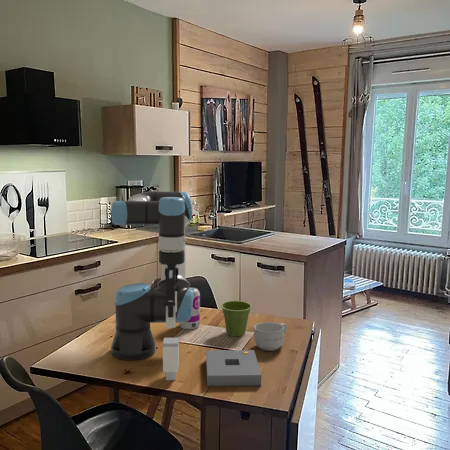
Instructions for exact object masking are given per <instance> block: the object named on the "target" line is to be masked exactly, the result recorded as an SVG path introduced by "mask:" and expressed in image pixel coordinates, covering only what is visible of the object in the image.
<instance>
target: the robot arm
mask: <svg viewBox="0 0 450 450" xmlns="http://www.w3.org/2000/svg"><path fill="white" fill-rule="evenodd" d="M192 205H193V204H192V200H191V196H190V194H189V193H188V192H186V191H179V190H178V191H153V190H151V191H145V192H144V191H143V192H140V193H137V194H134V195H131V196H130V197H129V198H128V199H127V200H115V201H113V202H112V204H111V211H110V212H111V215H110V216H111V222H112V225H115V226H158V249H159V251H158V262H159V264H161V279H160V280H159V281H158V282H157V283H156V284H157V285H156V288H155V287H153V288H151V286H150V284H149V283H145V282H136V283H131V284H128V285H124V286H122V287H120V288H118V289H117V290H116V292H115V302H114V305H115V333H114V336H113V338H112V342H111V346H110V351H111V352H110V355H111V356H112V357H113V358H116V359H118V360H122V361H138V360H139V361H140V360H143V359H146V358H149V357H151V356H152V355H154V353H156V341H155V339H154V336H153V333H152V331H151V323H153V324H154V323H155V324H156V323H159V324H160V323H162V324H163V323H165V328H167V329H171V328H177V327H176V324H177V323H178V324H179V322H187V321H189V320H190V318H191V314H192V306H193V297H194V288H195V287H191V284H190V283H191V282H189V281H188V280H187V279H186V278H187V277H186V242H187V241H188V240H187V238H186V228H187V227H188V225H189V223H190V222H191V221H192V220H193V209H192Z"/></svg>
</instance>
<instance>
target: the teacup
mask: <svg viewBox="0 0 450 450" xmlns="http://www.w3.org/2000/svg"><path fill="white" fill-rule="evenodd" d="M287 330H288V327H287V324H286V323H284V322H281V323H278V322H272V321H271V322H270V321H268V322H265V321H264V322H259V323H256V324H255V325H254V326H253V331H254V332H253V336H254V337H253V338H254V344H255V345H256V346H257V347H258V348H260V349H261V350H262V351H265V352H266V351H268V352H270V351H272V352H273V351H276V350H278V349H279V348H280V347H282V345H283V344H284V342H285V341H284V338H285V334H286V333H287Z"/></svg>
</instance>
